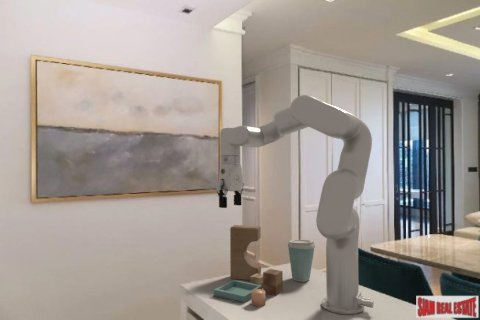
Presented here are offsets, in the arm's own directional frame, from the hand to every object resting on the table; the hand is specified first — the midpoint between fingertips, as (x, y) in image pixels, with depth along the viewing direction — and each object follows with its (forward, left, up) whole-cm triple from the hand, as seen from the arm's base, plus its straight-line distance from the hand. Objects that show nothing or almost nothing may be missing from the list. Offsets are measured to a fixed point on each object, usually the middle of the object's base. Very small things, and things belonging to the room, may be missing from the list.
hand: (230, 206), depth 130 cm
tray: (-9, +8, -28) cm, 31 cm away
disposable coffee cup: (-21, -18, -29) cm, 40 cm away
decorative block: (-2, -8, -29) cm, 30 cm away
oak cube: (-11, -2, -29) cm, 31 cm away
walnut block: (-18, 0, -29) cm, 34 cm away
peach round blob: (-19, +12, -29) cm, 36 cm away
